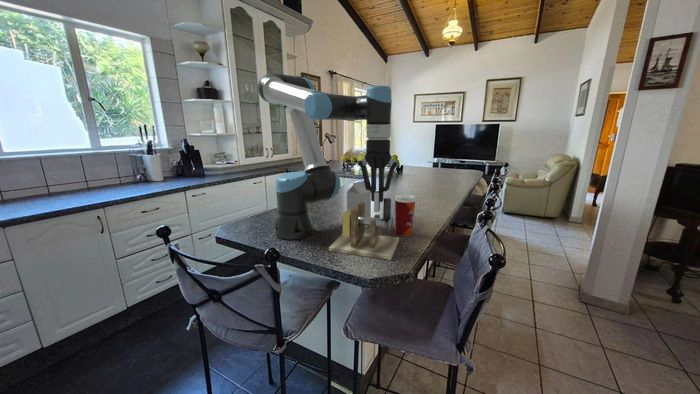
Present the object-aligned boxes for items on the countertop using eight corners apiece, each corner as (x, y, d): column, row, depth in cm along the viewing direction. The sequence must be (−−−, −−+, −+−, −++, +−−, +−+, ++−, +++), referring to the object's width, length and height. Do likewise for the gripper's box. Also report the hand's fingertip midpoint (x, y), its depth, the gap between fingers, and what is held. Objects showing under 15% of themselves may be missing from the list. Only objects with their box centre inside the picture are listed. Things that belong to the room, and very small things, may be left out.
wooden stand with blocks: (328, 250, 92) (328, 210, 89) (345, 233, 107) (344, 199, 103) (390, 260, 86) (392, 217, 82) (399, 240, 100) (400, 203, 97)
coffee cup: (414, 238, 103) (416, 199, 99) (392, 236, 104) (393, 198, 101) (414, 230, 111) (416, 194, 107) (393, 228, 112) (394, 193, 109)
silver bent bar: (341, 226, 95) (340, 196, 93) (345, 222, 99) (345, 193, 97) (390, 232, 90) (391, 200, 87) (392, 228, 94) (393, 197, 91)
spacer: (342, 236, 94) (342, 214, 92) (350, 228, 101) (350, 207, 99) (349, 237, 93) (349, 215, 91) (356, 229, 100) (356, 208, 98)
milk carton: (370, 226, 115) (371, 181, 111) (359, 230, 110) (359, 184, 106) (358, 222, 120) (358, 179, 115) (346, 226, 115) (346, 181, 110)
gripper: (354, 139, 85) (355, 212, 90) (396, 139, 80) (394, 216, 86) (361, 138, 92) (361, 206, 97) (401, 138, 87) (398, 209, 93)
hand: (377, 210), depth 92 cm, fingers closed
